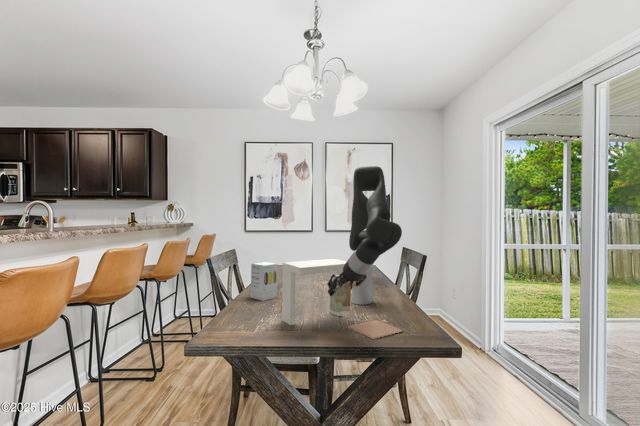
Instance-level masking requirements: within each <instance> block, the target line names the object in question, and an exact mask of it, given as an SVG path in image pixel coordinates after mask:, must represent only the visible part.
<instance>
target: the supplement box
mask: <svg viewBox="0 0 640 426" xmlns="http://www.w3.org/2000/svg"><path fill="white" fill-rule="evenodd" d="M250 268H251V269H250V299H255V300H258V301H263V302H264V301H268V300H272V299H276V298H277V297H278V296H277V295H278V263H275V262H268V261H262V262H257V263H255V262H254V263H251V267H250Z"/></svg>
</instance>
